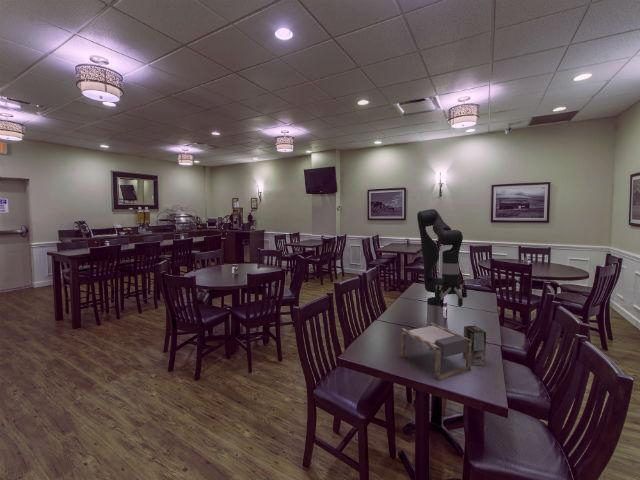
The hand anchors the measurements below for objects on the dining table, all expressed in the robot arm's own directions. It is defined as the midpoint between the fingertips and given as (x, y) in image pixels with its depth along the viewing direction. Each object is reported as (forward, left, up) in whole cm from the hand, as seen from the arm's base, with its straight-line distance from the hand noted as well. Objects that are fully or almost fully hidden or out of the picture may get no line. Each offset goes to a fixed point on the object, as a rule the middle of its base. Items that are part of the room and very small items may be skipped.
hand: (450, 306), depth 143 cm
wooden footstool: (+6, -4, -28) cm, 29 cm away
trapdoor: (+6, -2, -19) cm, 20 cm away
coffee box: (-13, +3, -28) cm, 31 cm away
